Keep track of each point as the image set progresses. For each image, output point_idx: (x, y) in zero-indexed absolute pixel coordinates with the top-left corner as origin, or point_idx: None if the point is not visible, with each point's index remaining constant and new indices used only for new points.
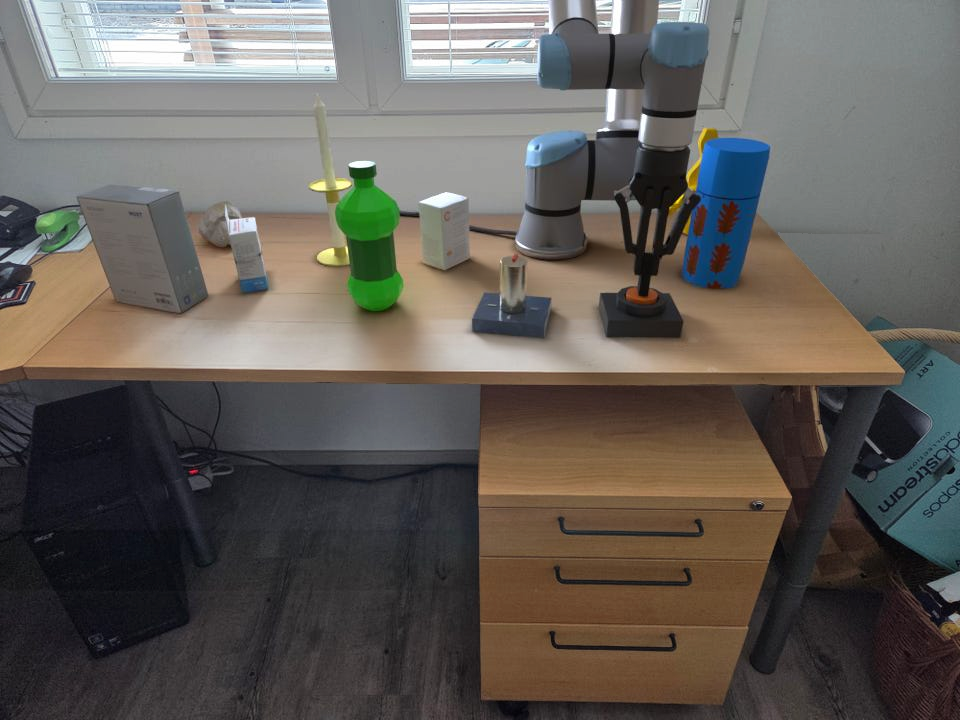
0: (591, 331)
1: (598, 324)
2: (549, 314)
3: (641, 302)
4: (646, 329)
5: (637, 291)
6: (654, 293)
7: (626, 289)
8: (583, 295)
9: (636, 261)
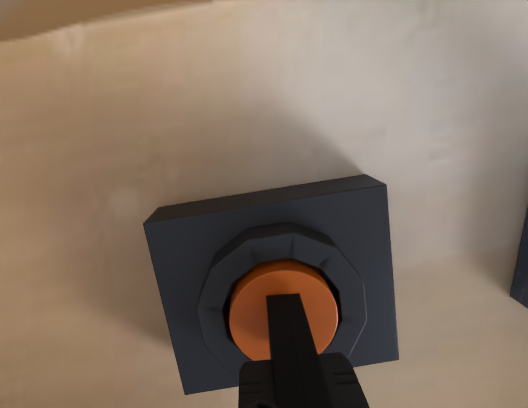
0: (405, 201)
1: None
2: (518, 268)
3: (286, 266)
4: (257, 197)
5: None
6: (239, 328)
7: None
8: (414, 391)
9: (362, 402)
